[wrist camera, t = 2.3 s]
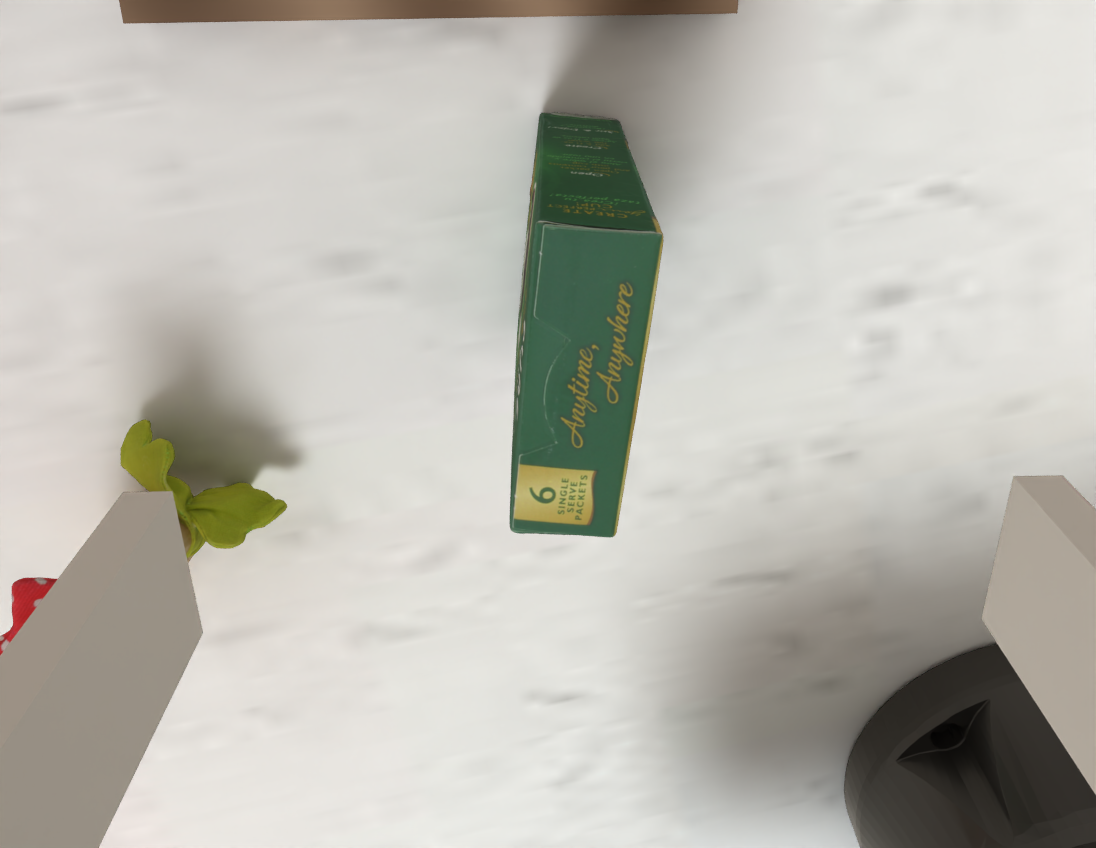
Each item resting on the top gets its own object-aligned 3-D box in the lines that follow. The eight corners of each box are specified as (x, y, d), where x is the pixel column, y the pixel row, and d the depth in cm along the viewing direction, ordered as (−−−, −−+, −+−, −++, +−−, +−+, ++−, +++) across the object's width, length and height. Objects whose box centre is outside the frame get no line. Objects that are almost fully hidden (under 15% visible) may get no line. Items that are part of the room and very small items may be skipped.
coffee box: (594, 348, 35) (620, 551, 23) (514, 340, 35) (500, 540, 23) (625, 118, 32) (675, 220, 20) (537, 108, 31) (534, 205, 20)
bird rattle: (253, 562, 42) (315, 453, 35) (125, 818, 34) (174, 739, 28) (113, 498, 40) (150, 373, 34) (-53, 750, 33) (-45, 650, 26)
